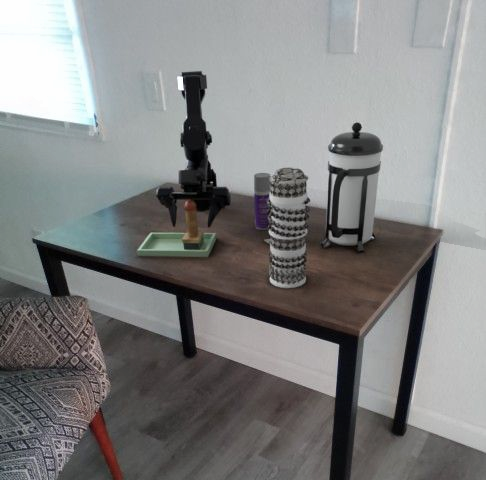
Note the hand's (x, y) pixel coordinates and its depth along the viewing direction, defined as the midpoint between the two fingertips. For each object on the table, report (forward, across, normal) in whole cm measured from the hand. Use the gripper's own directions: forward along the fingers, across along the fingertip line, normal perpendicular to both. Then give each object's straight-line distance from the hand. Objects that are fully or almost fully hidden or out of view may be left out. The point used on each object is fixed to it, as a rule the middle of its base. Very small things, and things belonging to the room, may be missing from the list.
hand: (191, 226), depth 126 cm
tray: (+4, -4, +6) cm, 8 cm away
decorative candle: (+16, +26, -6) cm, 31 cm away
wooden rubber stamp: (+3, 0, +5) cm, 6 cm away
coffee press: (+1, +40, +9) cm, 41 cm away
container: (-7, +17, +17) cm, 25 cm away
